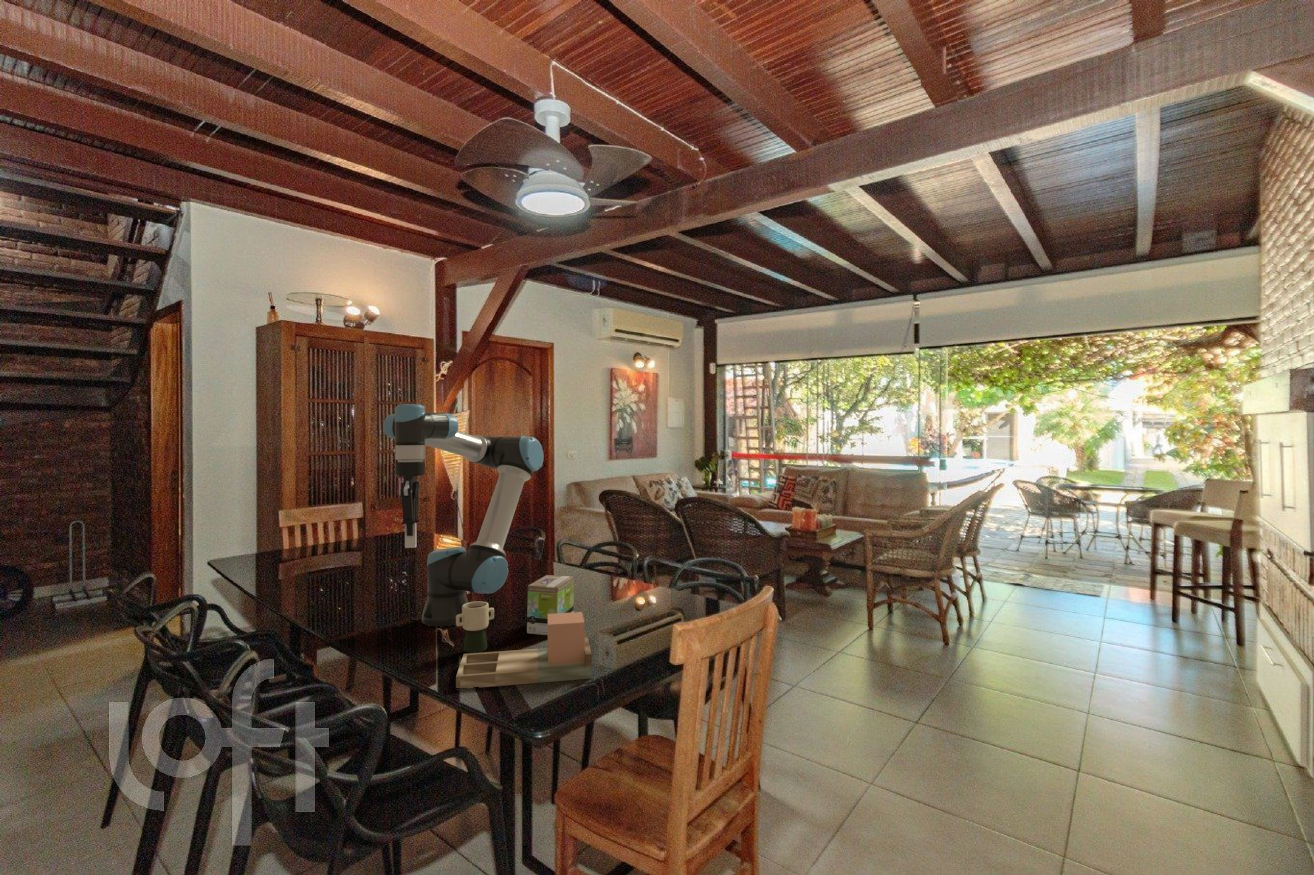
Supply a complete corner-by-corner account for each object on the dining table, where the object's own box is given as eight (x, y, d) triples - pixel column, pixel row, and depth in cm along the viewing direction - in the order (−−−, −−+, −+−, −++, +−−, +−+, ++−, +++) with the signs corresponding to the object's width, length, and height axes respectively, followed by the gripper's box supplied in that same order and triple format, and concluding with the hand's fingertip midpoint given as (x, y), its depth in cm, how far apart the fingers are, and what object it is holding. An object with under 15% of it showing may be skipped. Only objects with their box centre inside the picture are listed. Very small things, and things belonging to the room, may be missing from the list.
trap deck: (463, 665, 158) (463, 642, 158) (587, 656, 164) (586, 634, 164) (456, 689, 143) (455, 663, 143) (591, 678, 149) (591, 654, 149)
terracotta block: (547, 651, 159) (547, 613, 159) (582, 649, 161) (582, 611, 161) (548, 664, 150) (548, 624, 150) (584, 662, 152) (584, 622, 152)
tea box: (557, 636, 180) (557, 586, 180) (526, 634, 182) (525, 585, 182) (574, 621, 195) (574, 575, 195) (545, 619, 197) (544, 573, 197)
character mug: (489, 643, 174) (488, 598, 174) (499, 650, 169) (499, 603, 168) (451, 652, 167) (451, 605, 167) (461, 659, 162) (460, 611, 162)
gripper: (400, 460, 171) (401, 543, 171) (389, 462, 158) (390, 552, 158) (428, 459, 172) (429, 542, 173) (420, 461, 160) (420, 551, 160)
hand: (410, 547), depth 165 cm, fingers closed
